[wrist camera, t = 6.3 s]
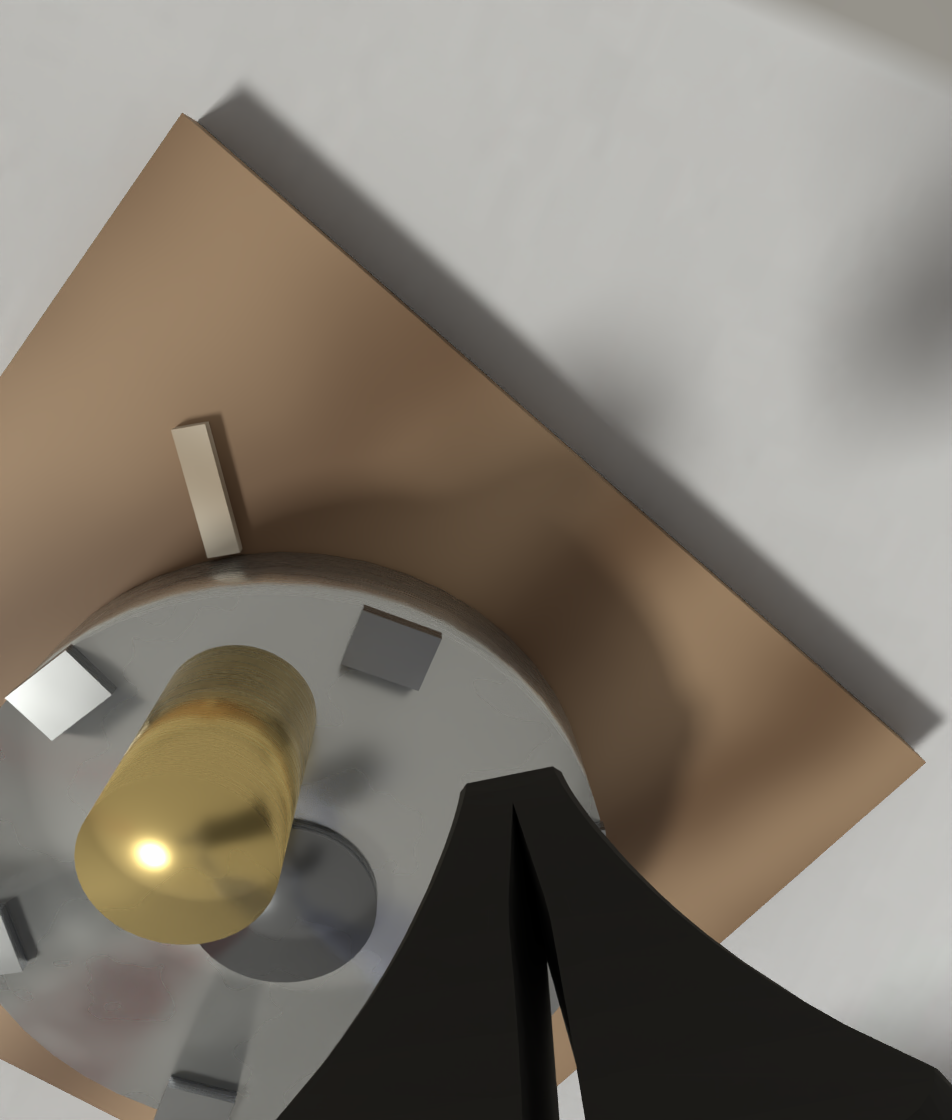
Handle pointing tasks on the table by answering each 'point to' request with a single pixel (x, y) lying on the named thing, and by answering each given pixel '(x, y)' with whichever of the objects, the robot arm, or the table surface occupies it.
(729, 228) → the table surface
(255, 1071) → the round metal turntable
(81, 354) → the base plate
